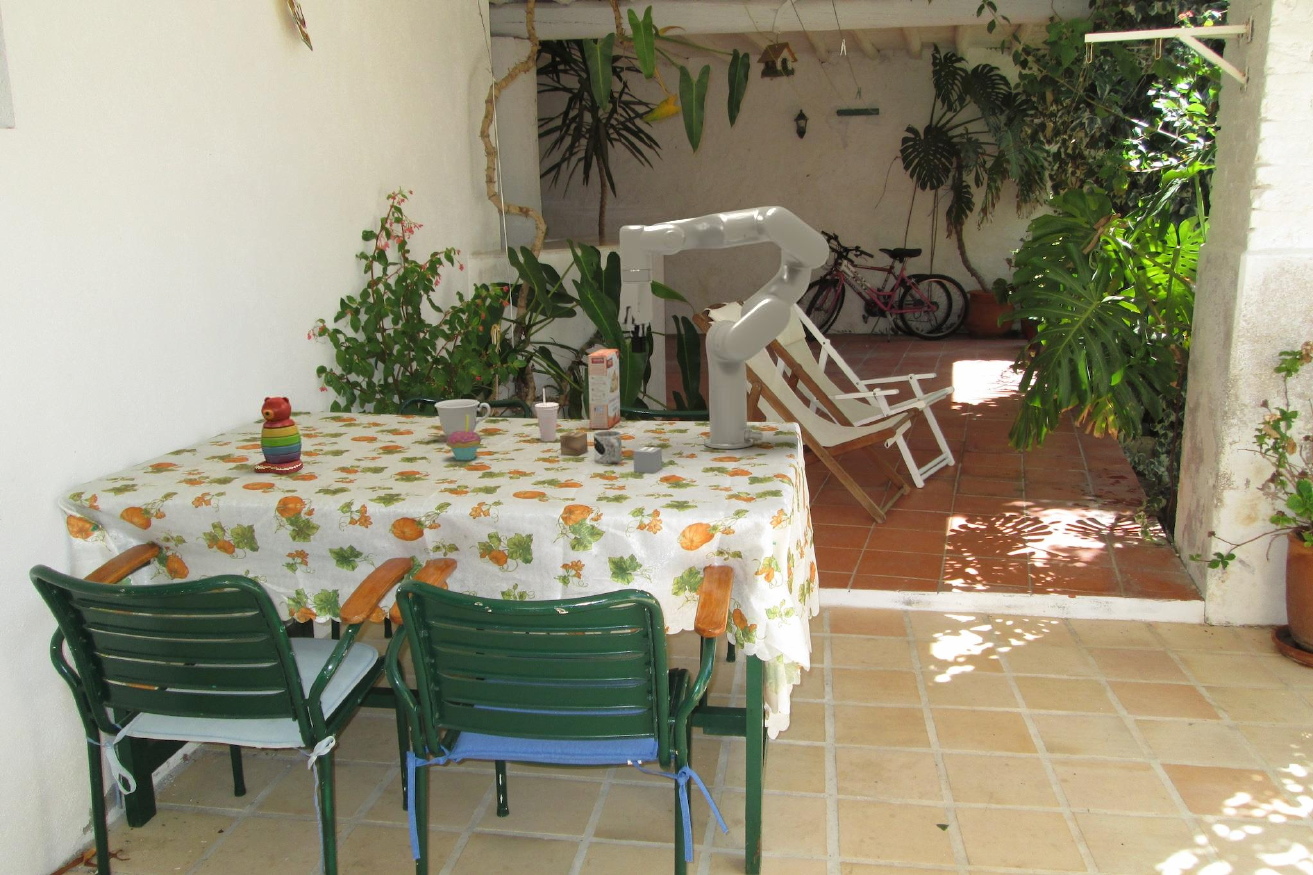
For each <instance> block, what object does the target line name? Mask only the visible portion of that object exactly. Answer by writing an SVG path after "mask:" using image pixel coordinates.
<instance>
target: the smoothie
mask: <svg viewBox="0 0 1313 875" xmlns="http://www.w3.org/2000/svg"><path fill="white" fill-rule="evenodd" d="M542 400H543V402H540V403H536V404H535V405H534V410H535V411H536V416H537V422H538V428H539V433H540V438H541V441H542V442H548V443H549V442H555V441H556V438H557V436H556V435H557V422H558V409H559V408H560V406H559V403H557V402H546V390H545V388H544V387H543V388H542Z"/></svg>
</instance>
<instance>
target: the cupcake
mask: <svg viewBox="0 0 1313 875" xmlns="http://www.w3.org/2000/svg"><path fill="white" fill-rule="evenodd" d="M468 414H469V412H468ZM468 425H469V415H466V430H465V431H464V430H463V431H457V432H453V433H452V434H451V435H449V436H448V435H447V438H446V442H445V445H446V446H447V447H448V448H450V449H451V451H452V453H453V455H454V458H455V460H457V461H461V462H462V461H472V460H474V459H475V458H476V454H477V452H478V451H477V450H478V448H479V446H480V445H481V441H482V438H481V436H480V435H479V434H478V433H477V432H475V431H473V432H472V431H470V430H468Z"/></svg>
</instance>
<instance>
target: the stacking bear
mask: <svg viewBox="0 0 1313 875" xmlns="http://www.w3.org/2000/svg"><path fill="white" fill-rule="evenodd" d="M263 402H264V403H263V404H262V406H261V408H260V410H261V415H262V417H263V418H264V419H265V422H264V423H263V424H262V428H261V434H260V448H261V452H262V454H263V456H264V459H265V460H264V461H261V462H259V463H257V464H256V465H259V466H260V465H263V466H271V467H277V468H279V469H280V468H281V469H284V468H289V467H294V466H296V465H299V464H300V463H302V464H301V465H300V466H298V467H296V468H293V469H289V470H276V469H271V468H265V469H258V468H257V469H256V468H255V467H254V468H253V471H254V472H255V473H258V472H264V473H273V472H274V473H275V474H278V475H289V474H293V473H296V472H297V471H300V470H301V469H303V467H304V464H303V461H302V459H301V455H302V447H303V446H302V444H303V443H302V437H301V433H300V432H299V428H298V425H297V424H296V421H294V420H293V419H292V418H290V417H291V416H292V415H291V414H292V404H291V403H290V399H289V398H288V397H287V396H283V397H282V396H275V397H269V396H267V397H265V398H264V399H263ZM274 473H273V474H274Z"/></svg>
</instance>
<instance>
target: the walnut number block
mask: <svg viewBox="0 0 1313 875" xmlns="http://www.w3.org/2000/svg"><path fill="white" fill-rule="evenodd" d="M559 439H560V440H559V441H560V455H561V456H571V457H572V456H573V457H580V456H582V455H584V454H587V453H588V452H589V450H588V449H589V446H588V432H585V431H584V432H583V431H582V432H581V431H567V432H566V433H563V434H560V435H559Z"/></svg>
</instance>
